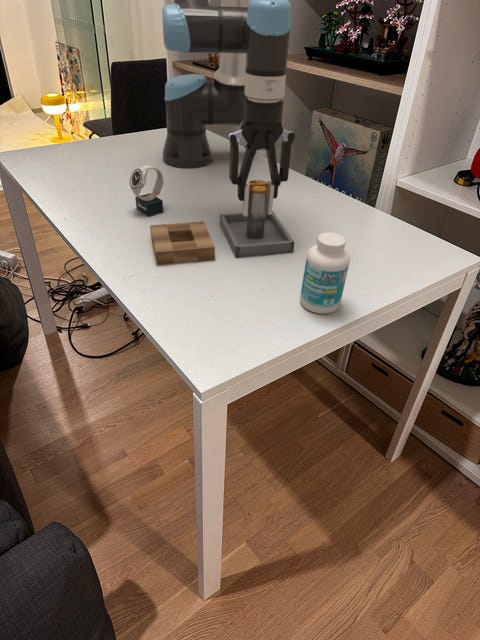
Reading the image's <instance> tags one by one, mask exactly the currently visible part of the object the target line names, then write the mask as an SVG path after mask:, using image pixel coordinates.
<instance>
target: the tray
mask: <svg viewBox="0 0 480 640" xmlns="http://www.w3.org/2000/svg"><path fill="white" fill-rule="evenodd" d="M219 226H220V229H221V230H222V232H223V234H224V237H225V239H226V241H227V243H228V245H229V247H230V249H231V252H232V253H233V256H234V257H235V259H239V258H246V257H247V258H250V257H260V256H269V255H279V254H280V255H281V254H282V255H283V254H291V253H294V250H295V249H294V248H295V241H294V239H293V238H292V236H291V235H290V233H289V232H288V230H287V229H286V228H285V226H284V224H282V222H281V220H280V219H279V218H278V217H277V215H276V213H275V212H274V210H272V215H268V213H267V212H266V213H265V226H264V237H263V238H260V239H251V238H249V237H247V236H246V229H247V216H245V217H244V215H243V214H242V212H235V213H234V212H233V213H221V214H219Z"/></svg>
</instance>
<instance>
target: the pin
mask: <svg viewBox="0 0 480 640" xmlns="http://www.w3.org/2000/svg"><path fill="white" fill-rule="evenodd" d="M248 186H249V199H248V216H247V229H246V236H247V237H249V238H251V239H260V238H263V237H264V226H265V213H266V201H267V188H268V183H267V181H266V180H261V179H255V180H254V179H253V180H250V181H249V182H248Z"/></svg>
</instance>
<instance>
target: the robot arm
mask: <svg viewBox="0 0 480 640" xmlns="http://www.w3.org/2000/svg"><path fill="white" fill-rule="evenodd" d="M170 2H171V4H165V5H163V7H162V9H161V15H162V16H161V17H162V34H163V36H162V37H163V45H164V47H165V49H166V50H167V51H170V52H182V53H184V54H186V53H219V68H218V69H217V70H216V71H215V72H214V74H213V80H207V78H206V76H205V75H204V74H200V73H197V74H196V73H191V74H190V73H189V74H183V75H178V76H174V77H171V78H170V79H168V80H167V81H166V83H165V84H164V101H165V111H166V112H165V113H166V116H165V118H166V138H165V140H164V146H163V150H162V161H163V163H165V164H166V165H169V166H172V167H176V168H181V169H182V168H184V169H185V168H186V169H191V168H192V169H194V168H201V167H205V166H208V165H209V164H211V163H212V159H213V153H212V149H211V146H210V143H209V140H208V136H207V126H236V127H239V126H240V129H239V130H236V131H234V132H233V131H228V132H227V138H228V142H229V172H228V176H229V177H228V178H229V181H230V182H231V184H232V185H236V186H237V198H238V201H240V202H241V209H240V210H241V211H240V213H242V214H243V215H244V217H245V216H248V199H249V184H247V181H248V178H249V175H250V171H251V168H252V165H253V162H254V161H253V160H254V158H255V156H256V153H257V151H259V150H266V151H265V153H266V158H267V164H268V170H269V177H270V180H267V181H266V182H267V183H268V188H267V201H266V212H267V213H268V215H272V211H273V206H274V199H275V200H276V199H278V193H279V187H280V186H281V184H282V183H283V182H287V181H288V180H289V175H290V174H289V173H290V172H289V171H290V165H291V164H290V163H291V154H292V144H294V140H295V138H296V134H295V133H294V131H292V130H291V129H284V127H283V124H282V122H283V113H284V101H283V98H284V97H285V90H286V89H285V88H286V77H287V74H286V73H287V67H288V55H289V44H290V35H291V28H292V5H291V2H290V1H289V0H220V5H219V6H218V5H216V6H215V5H211V0H171V1H170ZM241 138H244V140H245V142H246V145H245V152H244V154H243V159H242V163H241V166H240V169H239V158H240V157H239V156H240V155H239V154H240V151H239V149H240V148H239V147H240V146H239V144H240V143H241ZM280 138H281V150H280V161H279V168H278V162H277V156H276V155H277V154H276V152H277V151H276V142H278V140H279V139H280Z"/></svg>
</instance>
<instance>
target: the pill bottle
mask: <svg viewBox="0 0 480 640" xmlns="http://www.w3.org/2000/svg"><path fill="white" fill-rule="evenodd" d="M346 242H347V241H346V238H345V237H344V236H342V235H341V234H339V233H335V232H322V233H320V234H319V235H318V236H317V240H316V244H314V245H312V246H311V247H310V248H309V249H308V251H307V253H306V257H305V264H304V265H305V266H304V270H303V271H304V272H303V278H302V284H301V289H300V296H299V297H300V298H299V299H300V303H301V304H302V306H303V307H304V308H305V309H306V310H308V311H309V312H313V313H317V314H322V315H323V314H330V313H333V312H335V311H337V310H338V309H339V307H340V305H341V303H342V297H343V293H344V289H345V285H346V284H345V283H346V279H347V276H348V271H349V267H350V262H351V261H350V260H351V256H350V253H349V252H348V250H346V247H345V246H346Z"/></svg>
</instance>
